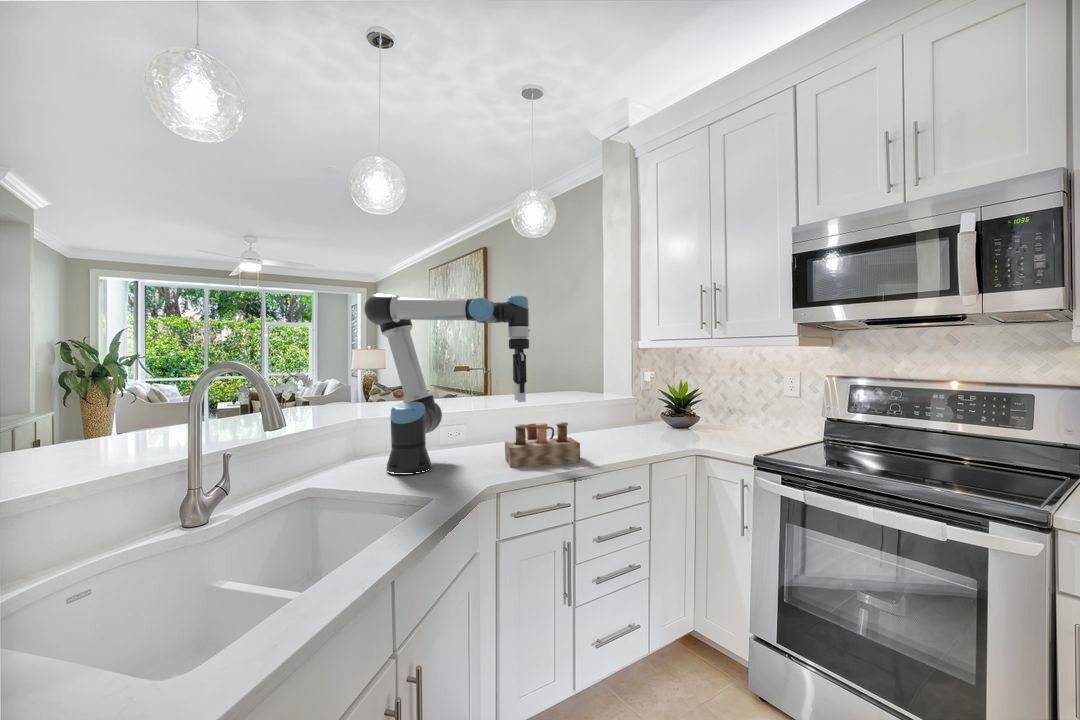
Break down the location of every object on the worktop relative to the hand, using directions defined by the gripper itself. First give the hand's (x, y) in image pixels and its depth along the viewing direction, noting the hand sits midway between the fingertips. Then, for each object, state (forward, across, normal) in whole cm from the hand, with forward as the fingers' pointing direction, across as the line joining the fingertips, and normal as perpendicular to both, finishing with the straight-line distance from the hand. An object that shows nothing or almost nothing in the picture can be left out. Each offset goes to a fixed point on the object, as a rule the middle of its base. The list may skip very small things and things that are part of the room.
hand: (519, 400), depth 173 cm
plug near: (+18, 0, 0) cm, 18 cm away
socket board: (+23, 0, -8) cm, 24 cm away
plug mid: (+18, 0, -8) cm, 20 cm away
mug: (+23, +20, -12) cm, 33 cm away
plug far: (+18, 0, -16) cm, 24 cm away
